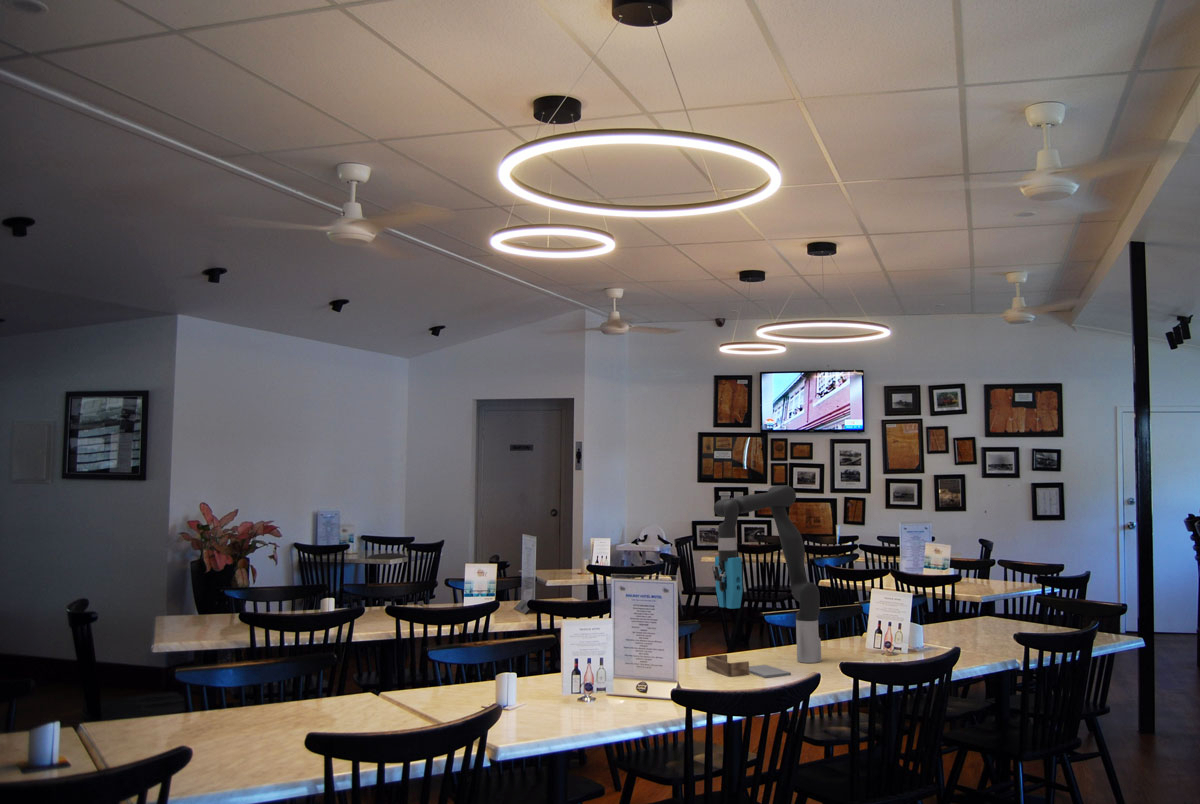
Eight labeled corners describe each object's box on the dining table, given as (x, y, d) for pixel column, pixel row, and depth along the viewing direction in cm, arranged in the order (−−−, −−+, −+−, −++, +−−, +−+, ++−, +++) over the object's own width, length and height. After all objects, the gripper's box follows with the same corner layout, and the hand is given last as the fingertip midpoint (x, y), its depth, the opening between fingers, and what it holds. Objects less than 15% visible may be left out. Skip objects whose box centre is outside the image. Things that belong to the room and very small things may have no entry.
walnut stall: (725, 666, 374) (725, 654, 374) (749, 674, 358) (748, 661, 358) (706, 668, 370) (706, 656, 370) (729, 676, 354) (728, 663, 355)
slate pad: (765, 667, 372) (765, 664, 372) (791, 675, 356) (790, 672, 356) (740, 669, 367) (740, 667, 368) (765, 678, 351) (765, 675, 351)
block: (744, 608, 363) (742, 557, 365) (734, 609, 360) (732, 558, 362) (724, 605, 373) (723, 555, 375) (715, 606, 370) (713, 556, 372)
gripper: (737, 547, 375) (739, 588, 373) (707, 549, 369) (709, 591, 368) (747, 548, 368) (749, 590, 367) (717, 550, 362) (718, 593, 361)
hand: (729, 590), depth 367 cm, fingers closed on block, 5 cm apart
